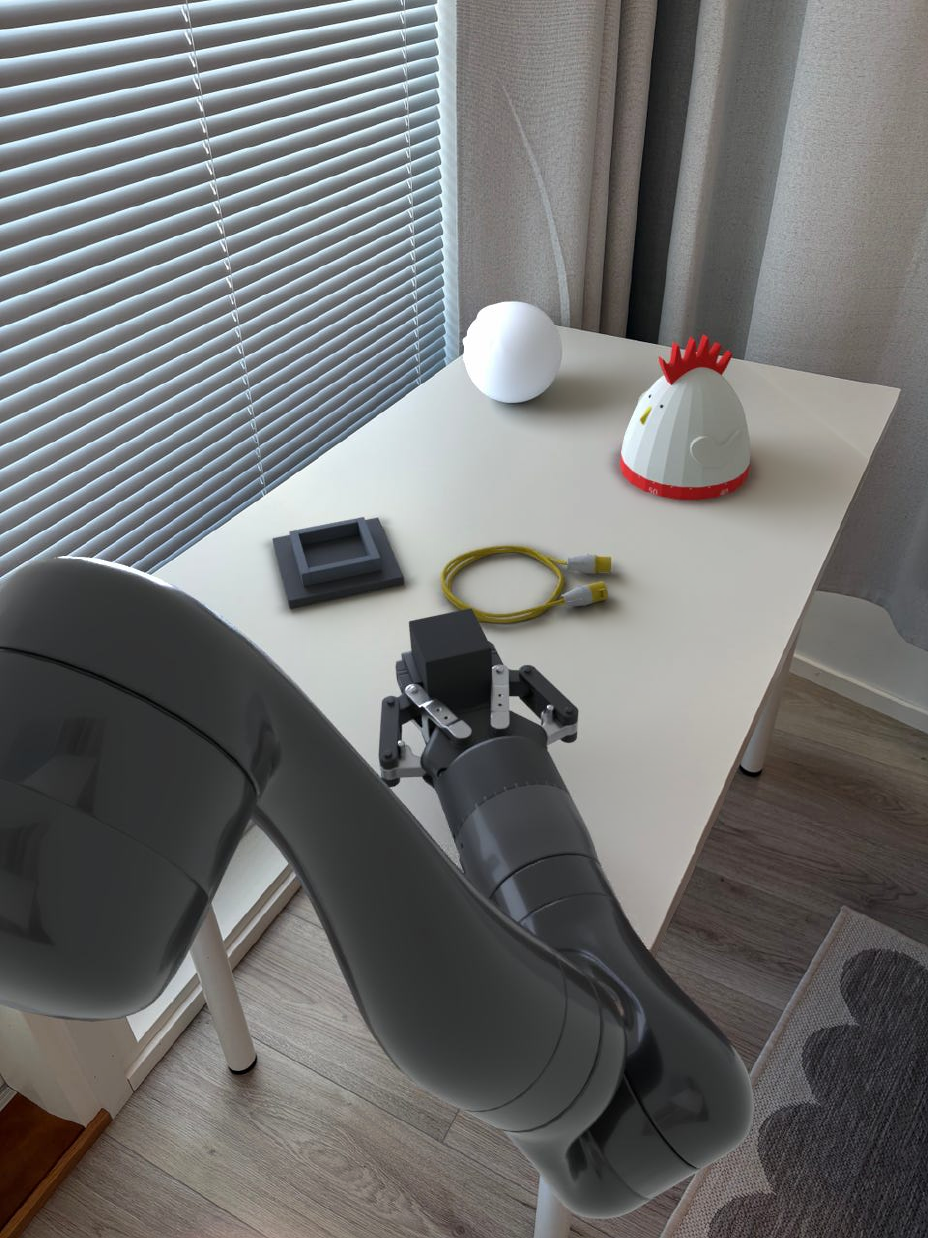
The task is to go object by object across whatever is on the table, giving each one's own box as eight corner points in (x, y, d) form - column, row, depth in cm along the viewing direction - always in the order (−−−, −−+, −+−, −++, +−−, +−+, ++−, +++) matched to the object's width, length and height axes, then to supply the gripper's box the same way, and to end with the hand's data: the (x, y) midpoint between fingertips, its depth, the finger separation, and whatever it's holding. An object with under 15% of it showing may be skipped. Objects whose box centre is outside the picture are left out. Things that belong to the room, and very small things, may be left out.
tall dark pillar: (433, 766, 69) (425, 662, 62) (417, 722, 72) (408, 620, 66) (494, 751, 70) (492, 647, 63) (475, 709, 73) (471, 607, 67)
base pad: (290, 609, 88) (285, 588, 87) (273, 545, 97) (269, 525, 95) (404, 585, 90) (402, 564, 89) (379, 525, 99) (376, 504, 97)
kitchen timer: (599, 450, 109) (606, 323, 99) (705, 427, 112) (722, 302, 102) (658, 512, 98) (672, 377, 89) (773, 484, 102) (798, 351, 92)
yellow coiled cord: (580, 650, 82) (581, 633, 81) (420, 606, 88) (418, 589, 87) (625, 573, 90) (627, 556, 89) (476, 537, 96) (475, 520, 95)
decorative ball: (475, 374, 126) (472, 284, 118) (566, 379, 123) (568, 288, 116) (457, 417, 117) (452, 322, 109) (554, 422, 114) (556, 326, 107)
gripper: (634, 761, 55) (534, 592, 68) (396, 822, 52) (338, 634, 65) (625, 841, 60) (532, 669, 73) (406, 902, 57) (350, 712, 70)
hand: (441, 653), depth 69 cm, fingers closed on tall dark pillar, 4 cm apart
